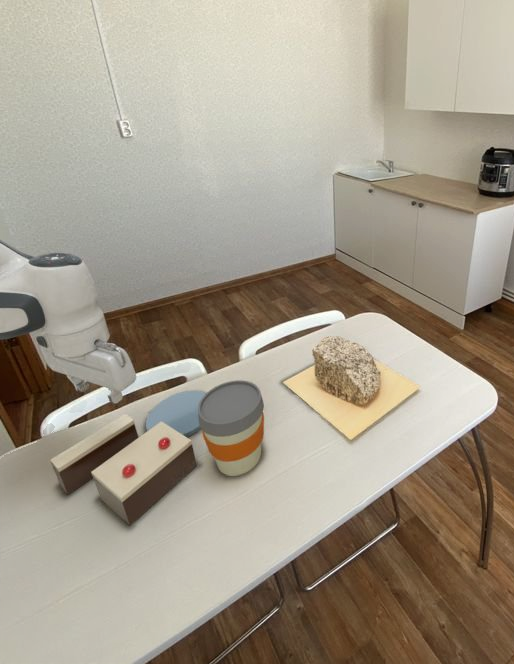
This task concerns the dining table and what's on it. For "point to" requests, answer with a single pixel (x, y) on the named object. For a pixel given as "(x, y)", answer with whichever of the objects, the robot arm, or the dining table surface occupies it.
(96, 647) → the dining table surface
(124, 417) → the cake slice
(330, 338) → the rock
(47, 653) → the dining table surface
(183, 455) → the cake
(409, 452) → the dining table surface
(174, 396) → the plate
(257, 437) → the reusable coffee cup
